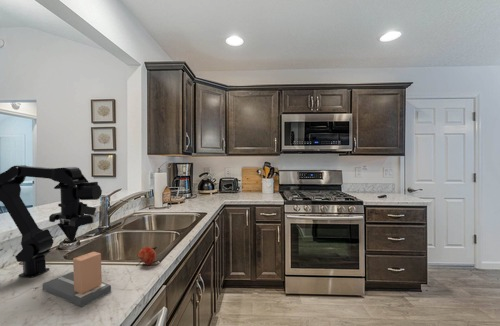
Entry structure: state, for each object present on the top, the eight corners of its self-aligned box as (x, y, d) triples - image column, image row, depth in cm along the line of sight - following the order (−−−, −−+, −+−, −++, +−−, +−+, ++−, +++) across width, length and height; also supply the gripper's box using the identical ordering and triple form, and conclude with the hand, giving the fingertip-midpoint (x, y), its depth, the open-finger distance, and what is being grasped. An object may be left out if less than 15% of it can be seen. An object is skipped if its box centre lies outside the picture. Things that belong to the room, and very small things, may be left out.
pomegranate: (140, 275, 91) (162, 256, 94) (127, 261, 91) (149, 242, 93) (143, 269, 99) (163, 251, 101) (131, 256, 98) (151, 239, 101)
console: (42, 289, 78) (42, 283, 78) (72, 277, 86) (72, 271, 86) (81, 307, 68) (80, 299, 68) (111, 291, 77) (110, 284, 77)
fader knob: (74, 290, 73) (73, 258, 72) (94, 281, 78) (93, 251, 78) (81, 293, 71) (80, 260, 71) (101, 284, 76) (100, 253, 76)
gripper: (106, 198, 93) (107, 237, 93) (79, 195, 101) (80, 232, 101) (75, 203, 83) (76, 247, 83) (47, 200, 91) (49, 240, 91)
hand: (71, 241), depth 90 cm, fingers closed
